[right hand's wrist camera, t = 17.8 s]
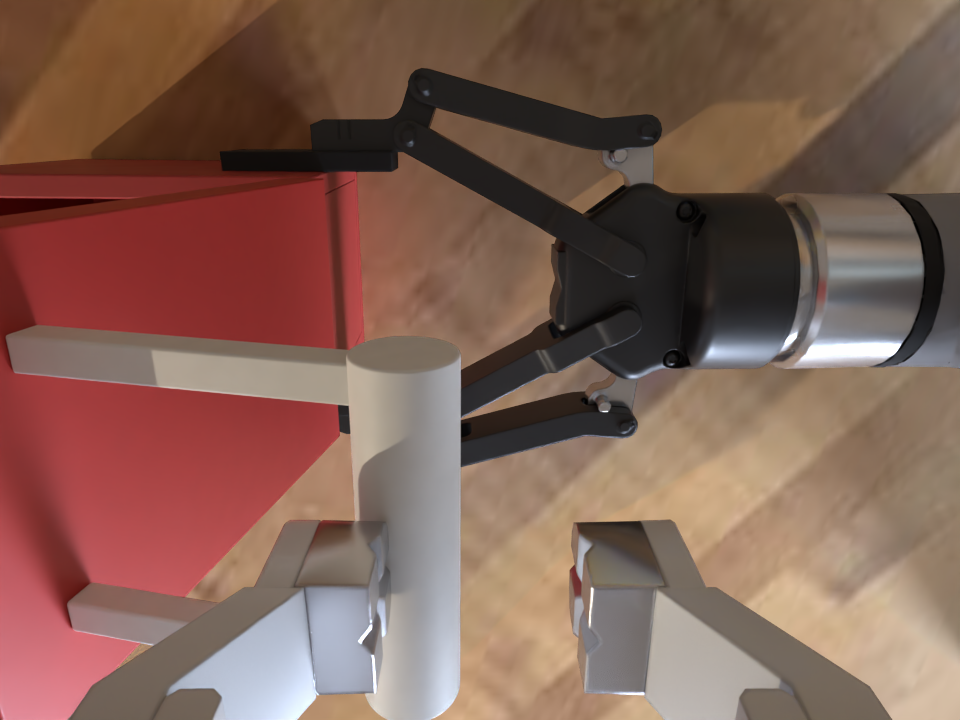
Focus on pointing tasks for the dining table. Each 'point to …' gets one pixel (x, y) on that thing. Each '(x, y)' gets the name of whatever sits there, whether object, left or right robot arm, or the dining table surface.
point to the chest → (140, 178)
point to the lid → (201, 433)
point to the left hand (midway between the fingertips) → (247, 286)
